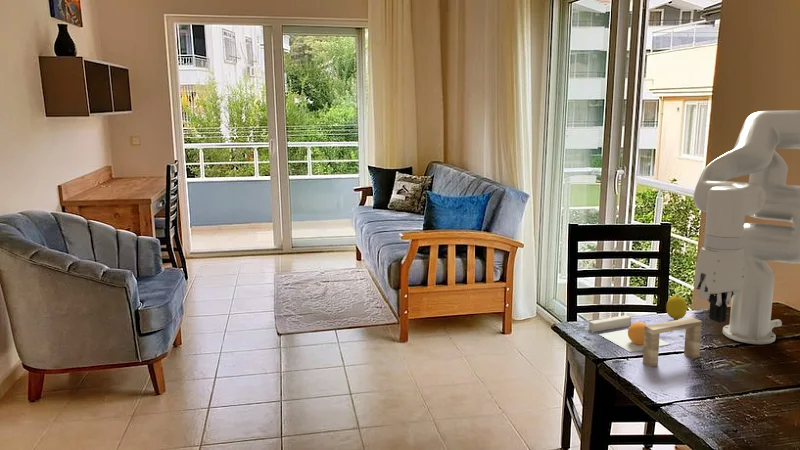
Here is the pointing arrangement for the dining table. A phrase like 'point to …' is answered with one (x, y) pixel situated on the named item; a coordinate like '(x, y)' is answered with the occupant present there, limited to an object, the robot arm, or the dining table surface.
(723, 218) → the robot arm
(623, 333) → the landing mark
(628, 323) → the wall
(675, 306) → the lemon
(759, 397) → the dining table surface
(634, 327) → the ball
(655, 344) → the bridge
